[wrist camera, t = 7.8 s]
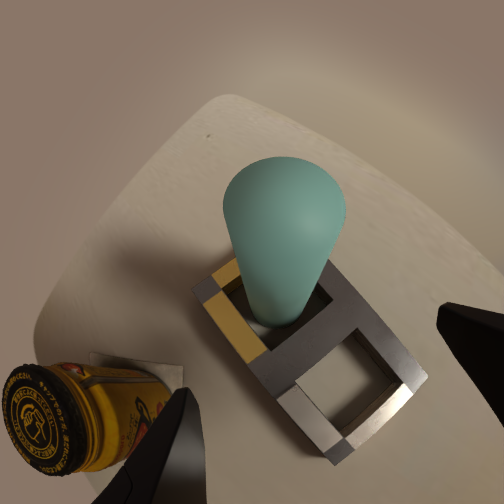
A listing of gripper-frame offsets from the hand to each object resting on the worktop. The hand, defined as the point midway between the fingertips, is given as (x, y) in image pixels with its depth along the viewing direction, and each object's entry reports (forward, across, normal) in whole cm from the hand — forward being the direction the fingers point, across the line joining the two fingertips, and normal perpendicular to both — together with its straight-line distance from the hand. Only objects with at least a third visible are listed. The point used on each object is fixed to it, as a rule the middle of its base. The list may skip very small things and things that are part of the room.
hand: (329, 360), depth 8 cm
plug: (+12, 0, +4) cm, 13 cm away
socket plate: (+9, -2, +7) cm, 12 cm away
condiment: (+8, +13, +8) cm, 18 cm away
